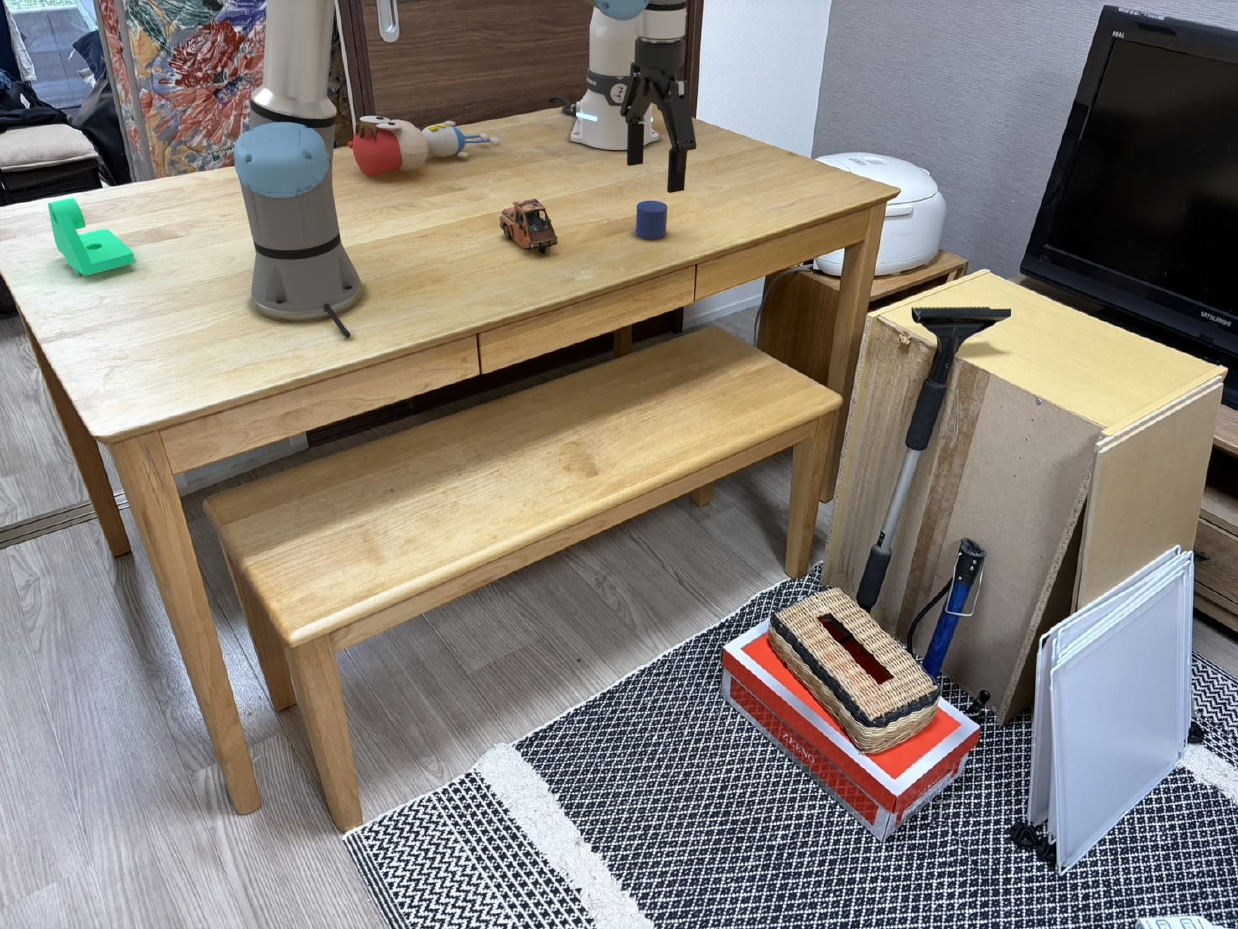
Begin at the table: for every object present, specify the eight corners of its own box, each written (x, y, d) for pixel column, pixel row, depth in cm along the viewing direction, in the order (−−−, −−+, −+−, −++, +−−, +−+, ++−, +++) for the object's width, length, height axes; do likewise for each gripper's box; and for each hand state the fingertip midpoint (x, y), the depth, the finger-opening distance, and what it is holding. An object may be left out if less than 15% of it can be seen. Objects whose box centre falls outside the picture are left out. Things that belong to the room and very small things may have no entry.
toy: (516, 122, 178) (364, 126, 163) (515, 176, 183) (367, 184, 168) (475, 107, 191) (331, 109, 176) (475, 157, 196) (335, 163, 181)
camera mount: (139, 268, 141) (119, 203, 135) (86, 282, 137) (63, 216, 130) (111, 243, 148) (91, 180, 142) (60, 256, 144) (37, 191, 137)
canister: (665, 228, 159) (666, 200, 156) (666, 240, 155) (667, 212, 152) (635, 227, 159) (636, 199, 156) (635, 239, 155) (636, 211, 152)
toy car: (524, 226, 158) (523, 186, 153) (566, 250, 150) (565, 209, 146) (492, 235, 154) (490, 194, 150) (533, 260, 147) (532, 218, 143)
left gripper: (726, 53, 131) (715, 199, 144) (642, 18, 148) (638, 150, 161) (680, 59, 128) (673, 207, 141) (600, 22, 145) (600, 157, 158)
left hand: (654, 177), depth 151 cm, fingers open, 13 cm apart
